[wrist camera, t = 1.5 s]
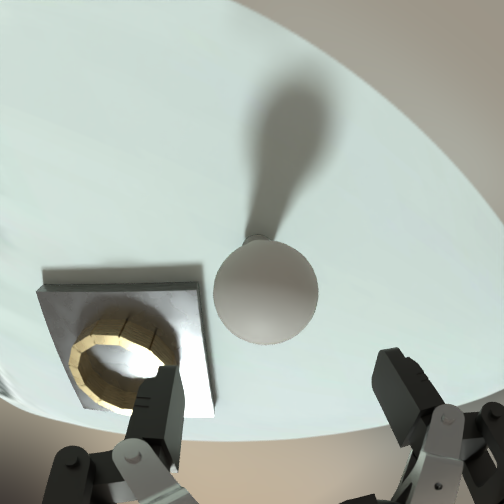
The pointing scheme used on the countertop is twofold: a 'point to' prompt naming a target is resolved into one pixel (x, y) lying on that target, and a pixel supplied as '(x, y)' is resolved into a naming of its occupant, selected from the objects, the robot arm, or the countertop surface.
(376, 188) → the countertop surface
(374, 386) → the robot arm
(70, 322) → the lamp socket
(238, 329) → the lightbulb
